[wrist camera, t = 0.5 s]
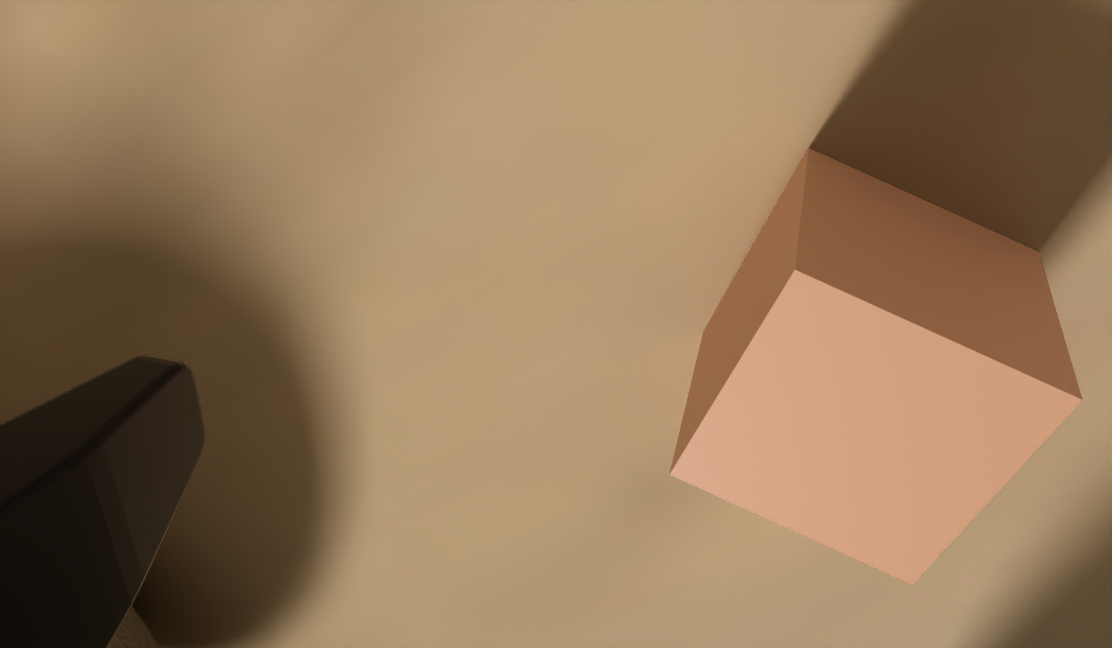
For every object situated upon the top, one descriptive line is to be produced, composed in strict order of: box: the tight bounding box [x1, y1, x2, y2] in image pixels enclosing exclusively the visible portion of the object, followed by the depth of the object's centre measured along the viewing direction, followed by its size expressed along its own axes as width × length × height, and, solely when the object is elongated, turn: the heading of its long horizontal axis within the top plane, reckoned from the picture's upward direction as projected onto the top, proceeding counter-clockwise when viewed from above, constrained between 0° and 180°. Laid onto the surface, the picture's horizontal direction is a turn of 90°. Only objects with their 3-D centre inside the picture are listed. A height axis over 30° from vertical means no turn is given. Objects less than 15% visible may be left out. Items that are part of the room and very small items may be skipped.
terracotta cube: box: [670, 148, 1082, 585], centre depth 20 cm, size 5×5×5 cm
